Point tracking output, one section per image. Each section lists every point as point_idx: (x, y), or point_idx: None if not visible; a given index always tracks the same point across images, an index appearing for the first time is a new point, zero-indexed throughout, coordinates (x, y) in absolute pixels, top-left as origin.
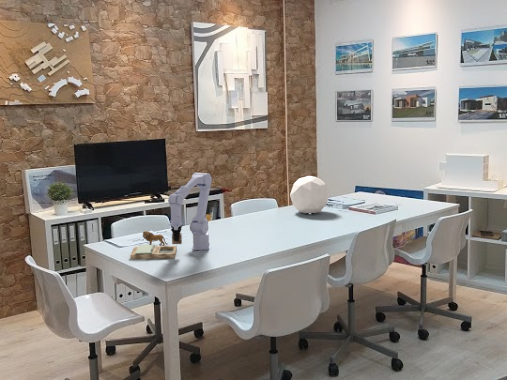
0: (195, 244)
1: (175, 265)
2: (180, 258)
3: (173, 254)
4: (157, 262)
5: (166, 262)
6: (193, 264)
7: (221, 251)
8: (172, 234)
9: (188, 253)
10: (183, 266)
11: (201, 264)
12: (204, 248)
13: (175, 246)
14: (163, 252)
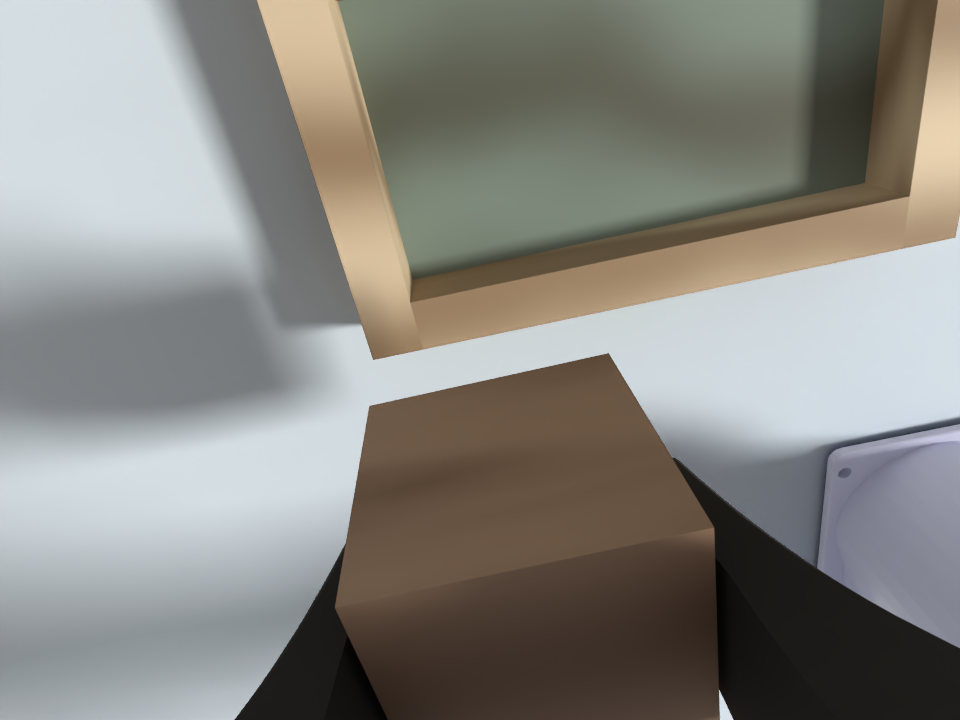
0: (904, 530)
1: (3, 430)
2: (384, 401)
3: (366, 328)
4: (26, 81)
5: (97, 255)
6: (149, 605)
7: (725, 711)
8: (484, 587)
9: (663, 436)
10: (11, 531)
11: (182, 669)
12: (844, 576)
13: (900, 229)
14: (677, 15)
